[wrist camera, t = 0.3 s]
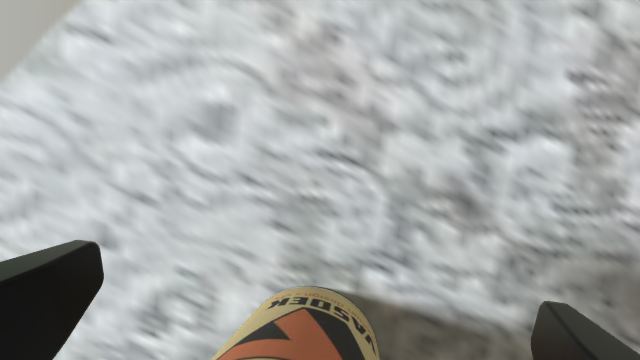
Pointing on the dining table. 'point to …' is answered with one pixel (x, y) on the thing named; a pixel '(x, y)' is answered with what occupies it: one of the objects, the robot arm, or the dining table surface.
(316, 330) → the coffee cup
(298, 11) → the dining table surface
